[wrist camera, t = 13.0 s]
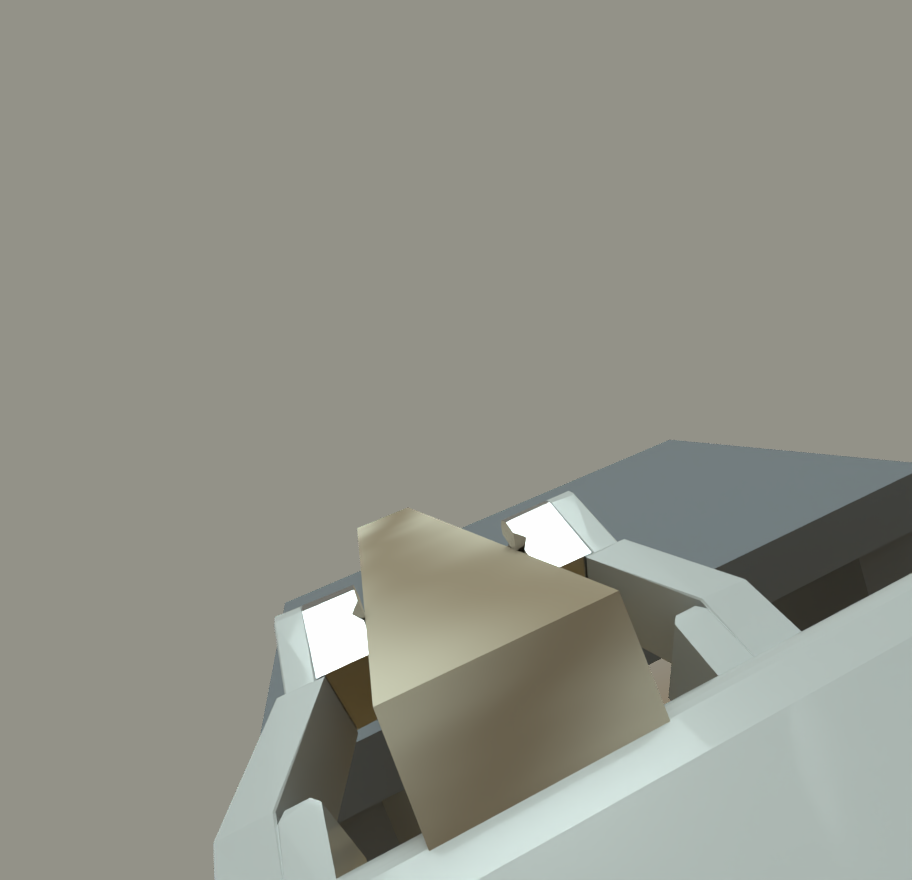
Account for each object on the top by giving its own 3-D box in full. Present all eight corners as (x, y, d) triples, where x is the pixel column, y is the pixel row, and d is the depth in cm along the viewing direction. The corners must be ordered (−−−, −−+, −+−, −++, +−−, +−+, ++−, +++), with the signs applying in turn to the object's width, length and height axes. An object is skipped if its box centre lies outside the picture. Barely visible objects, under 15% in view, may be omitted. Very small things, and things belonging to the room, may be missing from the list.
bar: (424, 549, 32) (408, 507, 32) (698, 794, 7) (618, 590, 7) (373, 570, 32) (357, 528, 32) (459, 931, 6) (373, 707, 6)
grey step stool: (774, 788, 40) (666, 439, 37) (1071, 1037, 24) (930, 464, 21) (445, 981, 35) (285, 601, 32) (545, 1451, 19) (249, 793, 16)
